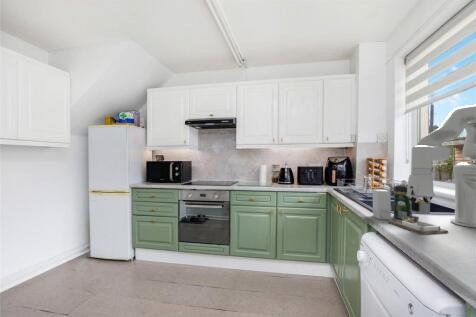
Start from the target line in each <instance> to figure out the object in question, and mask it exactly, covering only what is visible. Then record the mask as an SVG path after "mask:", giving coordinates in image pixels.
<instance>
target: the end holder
mask: <svg viewBox="0 0 476 317" xmlns="http://www.w3.org/2000/svg"><path fill="white" fill-rule="evenodd" d="M417 224H419V225H422V226H425V227H421V226H418V225H415V224H411V223H408V222H405V221H402V225H404V226H407V227H410V228H413V229H416V230H419V231H422V232H423V231H438V230H440V228H441V226H440V225H437V224H433V223H429V222H426V221H423V220H420V219H419V220H417Z"/></svg>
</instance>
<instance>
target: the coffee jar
mask: <svg viewBox="0 0 476 317" xmlns="http://www.w3.org/2000/svg"><path fill="white" fill-rule="evenodd" d="M407 186H408V184H400V185H397V186H394V187H393V201H394V202H393V204H394V205H393V217H394V218H397V220H402V218H404V219H406V217H410V215H413V212H411V201H410V199H409V198H408V197H407V196H406V194H407Z"/></svg>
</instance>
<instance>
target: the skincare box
mask: <svg viewBox="0 0 476 317" xmlns="http://www.w3.org/2000/svg"><path fill="white" fill-rule="evenodd" d="M391 198H392V196H391V191H390V190H386V189H372V216H373V217H375V219H378V220H383V221H384V220H388V221H392V214H391V213H392V211H391V210H392V208H391V206H392V205H391V204H392V203H391V201H392V200H391Z"/></svg>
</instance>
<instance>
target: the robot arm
mask: <svg viewBox="0 0 476 317" xmlns="http://www.w3.org/2000/svg"><path fill="white" fill-rule="evenodd" d="M464 130H465V132H466V133H465V134H466V135H465V140H464V143H463V147H462V152H461V157H462V158H463V159H464V160H466V161H465V162H464V161H463V162H459V163H456V164H455V165H454V166H453V169H452V175H453V178H454V188H455V189H454V190H455V193H454V218H452V219H450V223H452V224H454V225H457V226H462V227H467V228H473V229H474V228H475V229H476V104H474V105H464V106H460V107H457V108H454V109H453V110H451V111H450V112H449V114H448V115H447V116H446V118H445V120H444V121H443V122H442V123H441V125H439V127H438V128H436V129H435V130H433V131H432V132H430V133H428V134H427V135H425V136H424V137H422V138H421V139H420V140H419V141H418V142H417V144H416V145H415V146H413V147H412V148H411V159H410V160H411V166H410V174H409V175H408V180H407V185H408V186H407V194H406V196H407V197H408V198H409V199H410V201H411V202H412V204H411V210H412V211H416V212H418V211H419V203H418V200H420V199H419V198H420V197H421V198H422V201H424V202H426V203H430V204H431V201H432V199H433V198H434V197H435V193H434V180H433V175H432V172H433V171H432V169H433V168H432V167H433V163H434V162H435V163H437V162H439V163H440V162H446V161H447V160H449V159H450V158H451V156H452V152H451V150H450V149H449V148H448V147H447V146H443V145H439V144H443V143H446V142H447V143H448V142H449V141H452V140H455V139H457V138H459V137H460V135H462V133H463V131H464ZM469 161H470V162H469ZM471 161H472V162H471ZM474 161H475V162H474Z"/></svg>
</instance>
